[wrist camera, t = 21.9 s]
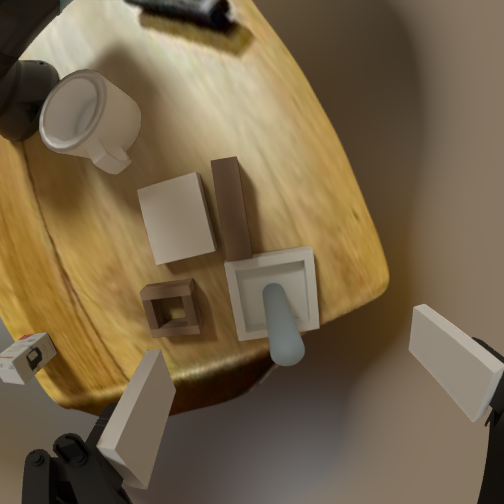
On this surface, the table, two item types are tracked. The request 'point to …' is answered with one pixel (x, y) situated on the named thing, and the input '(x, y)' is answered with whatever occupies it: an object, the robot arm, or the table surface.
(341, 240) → the table surface
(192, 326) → the socket block
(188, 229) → the white flat block
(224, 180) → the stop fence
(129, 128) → the mug
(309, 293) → the tray
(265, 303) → the dowel
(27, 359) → the ink box
